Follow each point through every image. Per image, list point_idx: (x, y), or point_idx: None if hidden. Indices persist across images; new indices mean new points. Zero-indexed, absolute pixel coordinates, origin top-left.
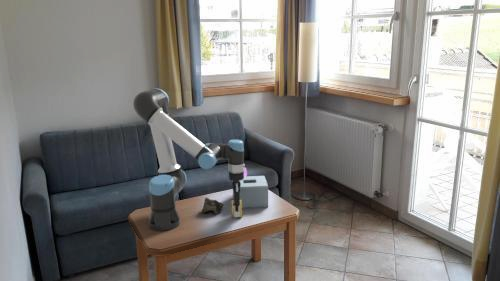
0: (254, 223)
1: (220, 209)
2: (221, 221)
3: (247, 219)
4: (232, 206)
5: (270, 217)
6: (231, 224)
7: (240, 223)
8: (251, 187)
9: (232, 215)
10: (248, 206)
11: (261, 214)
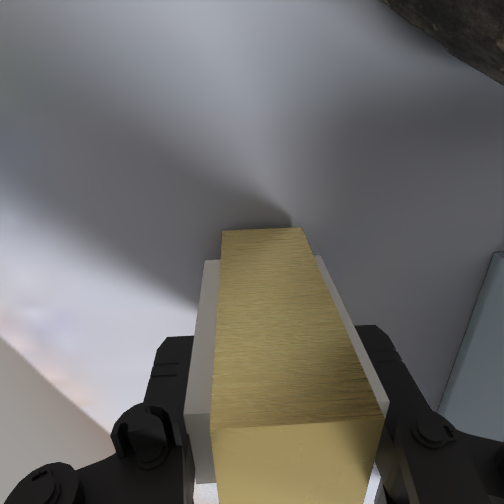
0: (96, 416)
1: (458, 48)
2: (108, 70)
3: None
4: (215, 350)
5: (217, 496)
6: (31, 218)
7: (78, 312)
8: None
9: (223, 247)
10: (458, 389)
11: None
